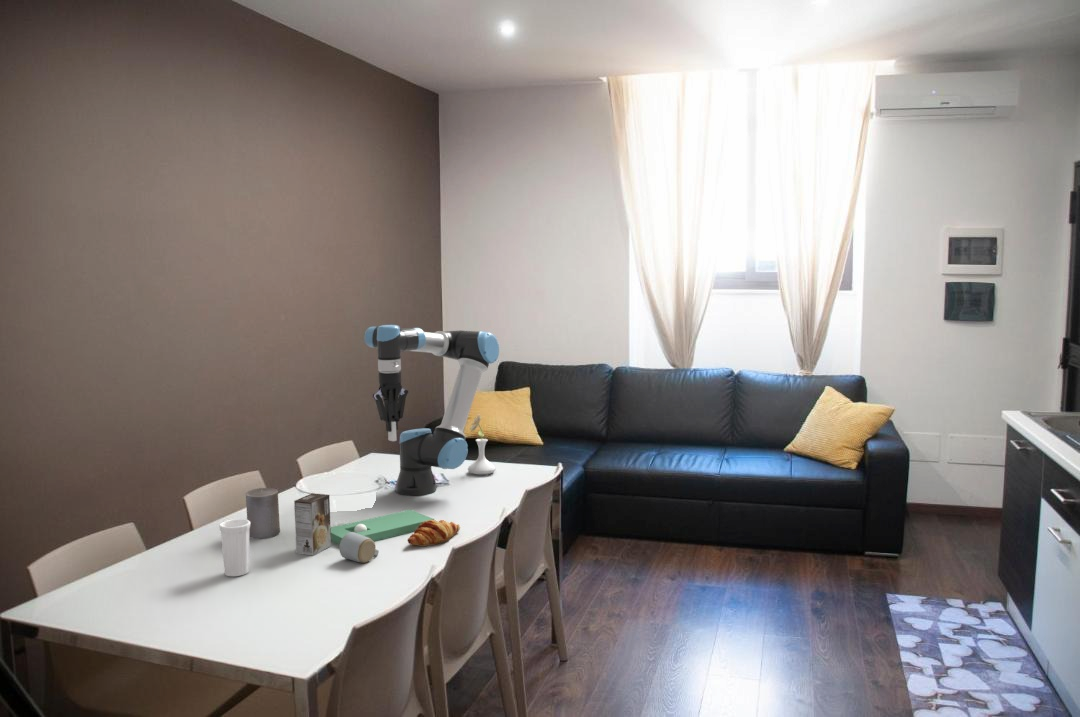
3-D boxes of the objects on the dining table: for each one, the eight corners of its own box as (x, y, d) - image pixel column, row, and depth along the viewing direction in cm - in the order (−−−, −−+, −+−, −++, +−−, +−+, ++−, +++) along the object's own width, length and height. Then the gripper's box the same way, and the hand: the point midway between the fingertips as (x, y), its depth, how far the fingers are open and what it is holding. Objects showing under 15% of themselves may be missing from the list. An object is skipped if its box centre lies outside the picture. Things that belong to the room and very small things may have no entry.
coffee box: (313, 543, 260) (312, 492, 258) (331, 546, 258) (330, 494, 256) (295, 553, 252) (293, 500, 250) (313, 556, 249) (312, 502, 248)
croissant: (452, 540, 274) (444, 517, 276) (472, 531, 268) (464, 507, 270) (403, 556, 258) (394, 531, 260) (423, 547, 252) (415, 522, 254)
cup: (222, 580, 230) (220, 529, 228) (220, 570, 237) (218, 520, 236) (253, 576, 233) (251, 525, 232) (251, 566, 241) (249, 517, 239)
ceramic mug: (359, 566, 241) (359, 540, 240) (338, 561, 245) (338, 535, 244) (385, 556, 250) (385, 531, 249) (365, 551, 254) (365, 526, 253)
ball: (364, 523, 270) (353, 521, 267) (370, 526, 267) (360, 524, 264) (361, 535, 270) (350, 534, 267) (367, 538, 267) (356, 537, 264)
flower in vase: (471, 469, 354) (470, 409, 351) (498, 470, 352) (497, 410, 349) (463, 477, 341) (463, 415, 338) (491, 478, 339) (491, 416, 336)
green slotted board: (410, 516, 288) (410, 509, 288) (434, 526, 277) (434, 519, 277) (323, 536, 267) (323, 529, 266) (346, 548, 256) (345, 540, 256)
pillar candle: (267, 527, 276) (264, 482, 274) (286, 532, 270) (284, 486, 269) (241, 535, 268) (238, 489, 266) (260, 541, 263) (258, 493, 261)
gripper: (379, 374, 278) (382, 445, 282) (412, 370, 287) (414, 438, 291) (366, 372, 284) (369, 441, 287) (399, 368, 293) (402, 435, 296)
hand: (392, 440), depth 289 cm, fingers closed
